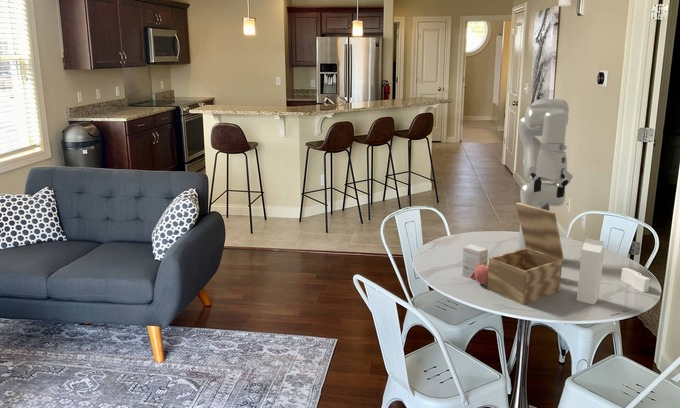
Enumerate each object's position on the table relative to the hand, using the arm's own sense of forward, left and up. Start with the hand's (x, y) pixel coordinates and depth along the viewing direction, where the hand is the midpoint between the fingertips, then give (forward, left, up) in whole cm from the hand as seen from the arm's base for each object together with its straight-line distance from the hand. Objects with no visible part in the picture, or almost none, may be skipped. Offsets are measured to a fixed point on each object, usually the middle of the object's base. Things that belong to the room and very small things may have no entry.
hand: (548, 194), depth 204 cm
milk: (-2, +18, -35) cm, 39 cm away
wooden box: (+10, 0, -35) cm, 36 cm away
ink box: (+15, -19, -35) cm, 42 cm away
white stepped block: (-27, +21, -35) cm, 49 cm away
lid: (+4, 0, -13) cm, 14 cm away
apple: (+17, -12, -35) cm, 40 cm away
